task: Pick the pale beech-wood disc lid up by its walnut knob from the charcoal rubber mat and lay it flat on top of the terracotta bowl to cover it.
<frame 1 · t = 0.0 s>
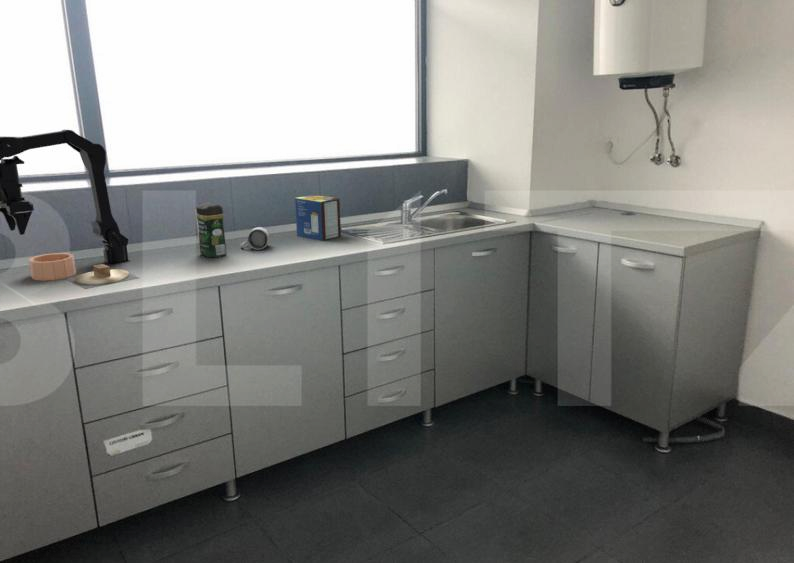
hand: (17, 232, 190), 15 cm above the countertop, fingers open, 9 cm apart
mat: (103, 279, 193), on the countertop
ceramic mug: (255, 248, 234), on the countertop
lid: (102, 278, 193), resting on mat
protein box: (318, 236, 254), on the countertop
bowl: (54, 276, 197), on the countertop
coffee jar: (213, 255, 223), on the countertop
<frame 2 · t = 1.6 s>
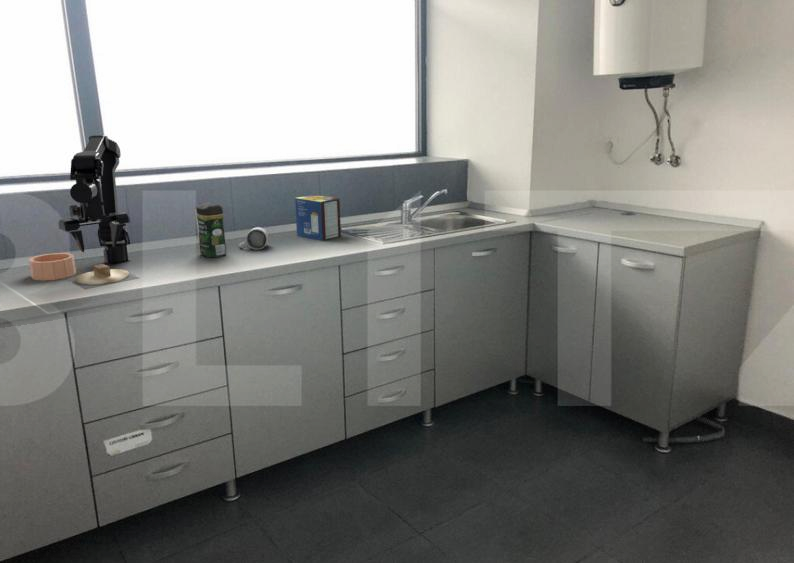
hand: (98, 249, 191), 10 cm above the countertop, fingers open, 9 cm apart
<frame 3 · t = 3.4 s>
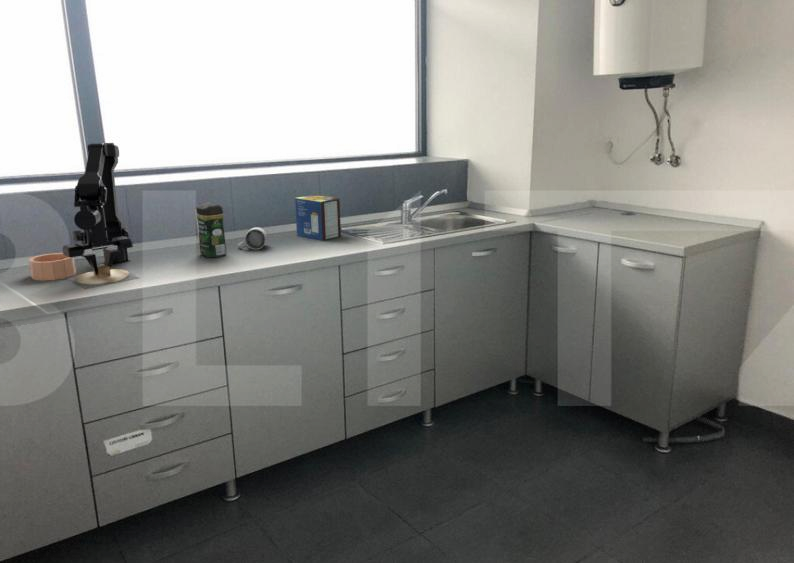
hand: (102, 273, 193), 2 cm above the countertop, fingers closed on lid, 3 cm apart
lid: (102, 278, 193), resting on mat, touching gripper
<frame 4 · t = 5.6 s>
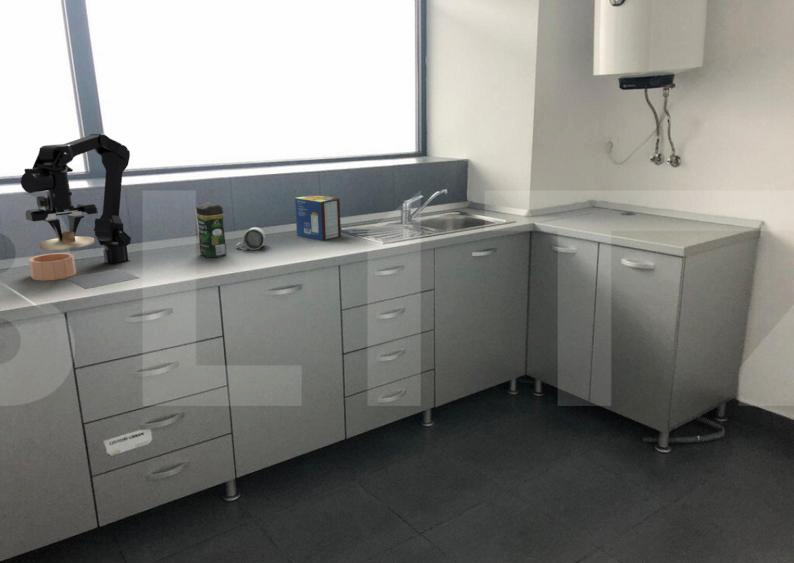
hand: (66, 239, 192), 12 cm above the countertop, fingers closed on lid, 3 cm apart
lid: (67, 244, 192), point 11 cm above the countertop, touching gripper
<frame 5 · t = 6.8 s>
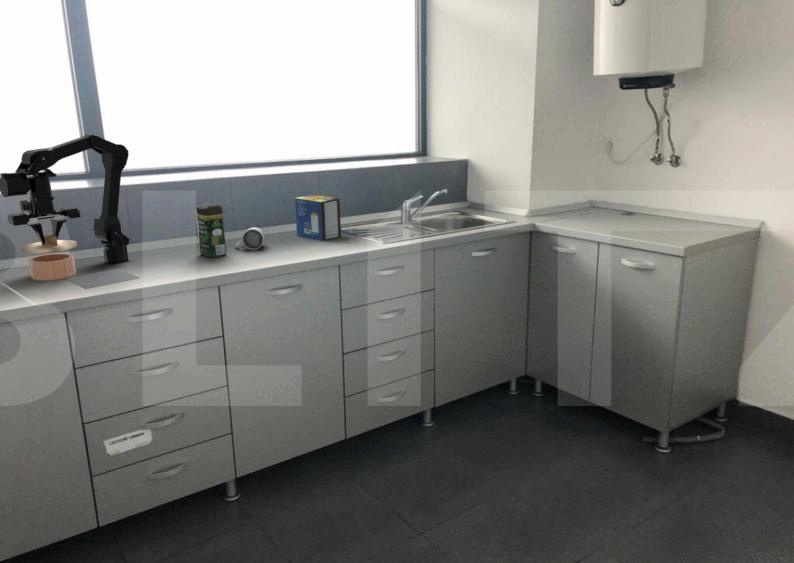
hand: (49, 243, 194), 10 cm above the countertop, fingers closed on lid, 3 cm apart
lid: (50, 247, 194), point 9 cm above the countertop, touching gripper
when the fingers open (8 cm above the countertop, at t = 7.7 s): lid stays where it is, resting on bowl.
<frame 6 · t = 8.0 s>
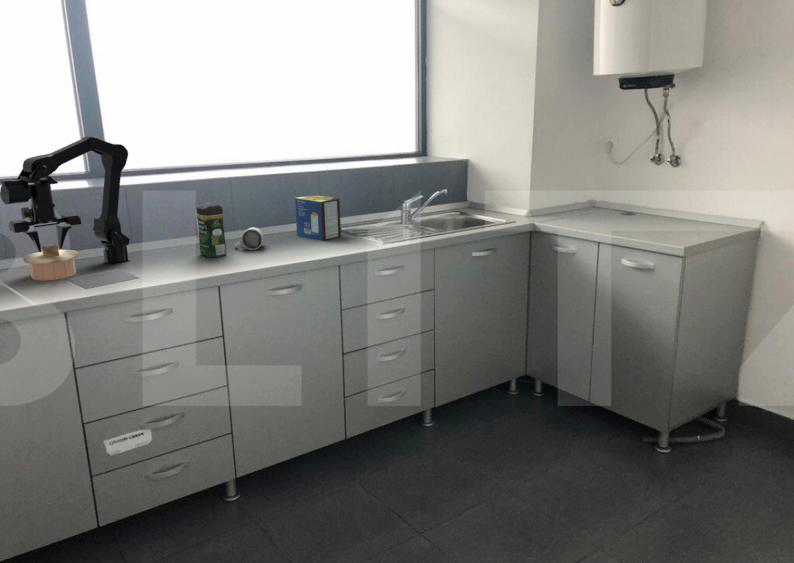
hand: (50, 250, 195), 8 cm above the countertop, fingers open, 6 cm apart
lid: (51, 257, 195), point 6 cm above the countertop, touching bowl
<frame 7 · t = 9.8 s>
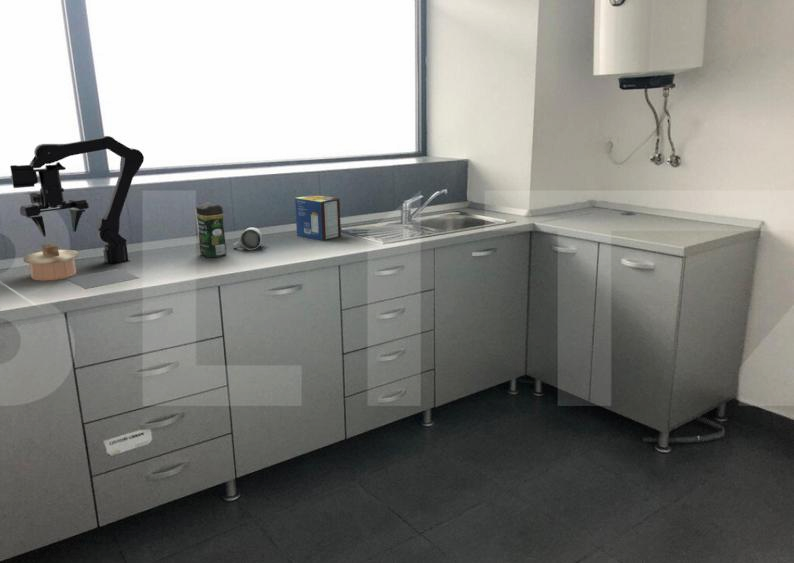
hand: (59, 234, 202), 12 cm above the countertop, fingers open, 9 cm apart
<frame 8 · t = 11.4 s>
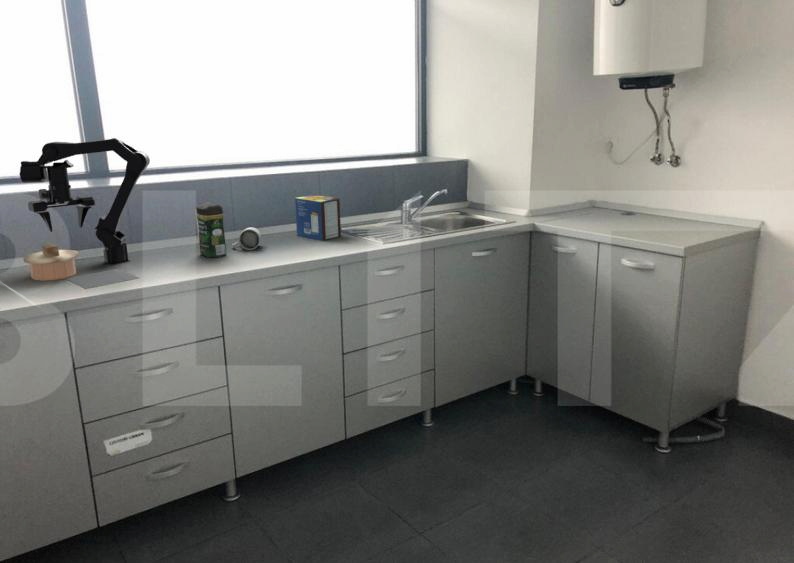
hand: (66, 229, 207), 12 cm above the countertop, fingers open, 9 cm apart
at the end: lid 0.1 cm from the bowl (horizontally); lid point 6.0 cm above the countertop; lid tilted 0° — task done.
